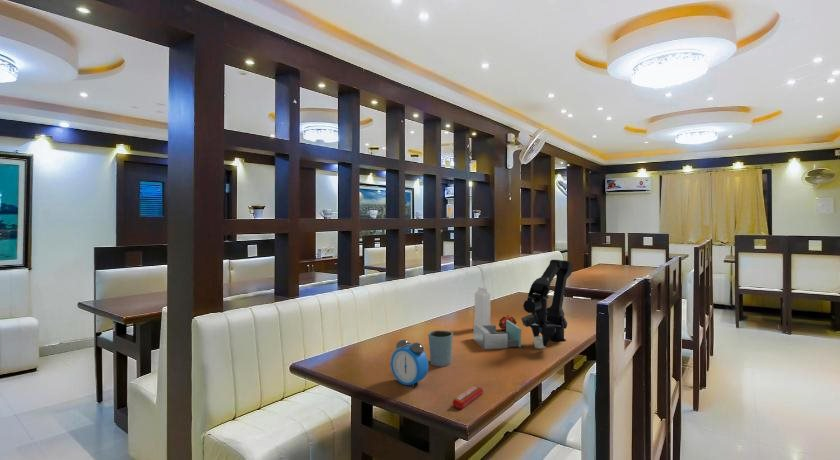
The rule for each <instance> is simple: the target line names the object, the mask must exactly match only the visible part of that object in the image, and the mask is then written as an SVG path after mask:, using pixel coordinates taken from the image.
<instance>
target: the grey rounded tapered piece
mask: <svg viewBox="0 0 840 460" xmlns="http://www.w3.org/2000/svg"><path fill="white" fill-rule="evenodd" d="M533 338H534V339H533V342H534V343H533V344H534V345H533V346H534V347H533V348H535V349H540V350H543V349H546V348H547V345H546V346H543V340H542V335H539V336H535V337H534V336H533Z"/></svg>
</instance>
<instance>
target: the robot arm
mask: <svg viewBox="0 0 840 460" xmlns="http://www.w3.org/2000/svg"><path fill="white" fill-rule="evenodd" d="M573 269H574V264H573V263H572V262H571V260H564V259H563V260H562V259H551V260H550V261H549V263H548V266H547V267H546V269H545V270H544V271H543V273H542V275H541V276H539V277H538V278H536V279H535V280H534V281H532V284H531V285H530V289H529V290H528V291H529V292H528V294H527V300H525V301H524V302H523V305H522V306H523V310H524V311H525V312H527V313H529V314H528V315H525V316H523V317H521V319H520V320H521V322H522V325H523V326H524V327H526V328H527V327H529V328H531V331H532V335H533V338H534V337H535V336H540V335H541V336H542V340H543V346H546V347H547V345H548V343H549V341H550V340H551V341H552V342H562V341H563V342H564V341H566V339H565V330H566V329H567V327H568V322H567V320H566V318H565V312H564V309H563V303H564V297H565V293H566V285H567V280H568V278H569V277H571V275H572V272H573ZM555 278H556V279H555ZM553 279H555V284H554V290H553V297H552V300H551V305H550V306H549V307H548V300H547V299H549V296H548V295H549V293H550V291H551V289H552V288H551V283H552V281H553Z"/></svg>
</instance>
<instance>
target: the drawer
mask: <svg viewBox="0 0 840 460" xmlns="http://www.w3.org/2000/svg"><path fill="white" fill-rule="evenodd" d="M490 333H491V334H508V348H511V347H515V348H516V347H518V348H521V347H522V328H520V327H519V326H517V325H516V324H515V325H514V324H513V323H511V322H510V321H508V320H506V331H496V332H490Z"/></svg>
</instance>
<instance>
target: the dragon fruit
mask: <svg viewBox="0 0 840 460" xmlns="http://www.w3.org/2000/svg"><path fill="white" fill-rule="evenodd" d="M506 320H508V321H510V322H511V323H513V324H514V325H516V324H517V320H516V318H515V317H514V316H513V315H511V316H509V315H508V314H507V315H506V316H502V318H500V319H499V322H498V326H499V329H501V331H500V332H506Z"/></svg>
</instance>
